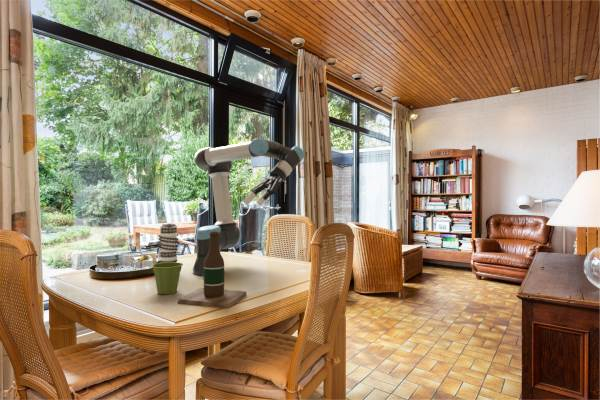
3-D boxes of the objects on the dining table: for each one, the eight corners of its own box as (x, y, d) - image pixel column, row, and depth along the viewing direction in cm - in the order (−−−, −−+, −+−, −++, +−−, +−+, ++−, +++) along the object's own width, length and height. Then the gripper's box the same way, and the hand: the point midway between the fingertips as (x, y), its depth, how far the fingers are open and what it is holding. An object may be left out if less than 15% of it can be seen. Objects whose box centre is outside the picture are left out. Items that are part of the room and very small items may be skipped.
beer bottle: (221, 298, 125) (222, 233, 125) (200, 297, 125) (201, 232, 125) (226, 292, 133) (226, 230, 133) (206, 291, 133) (207, 230, 133)
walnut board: (177, 303, 124) (177, 299, 124) (200, 291, 139) (200, 287, 139) (228, 308, 119) (228, 303, 119) (246, 295, 134) (246, 291, 134)
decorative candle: (157, 272, 171) (158, 223, 171) (177, 271, 175) (177, 222, 175) (158, 276, 163) (159, 224, 162) (179, 275, 167) (179, 224, 166)
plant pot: (189, 291, 139) (189, 263, 139) (164, 298, 129) (164, 268, 129) (169, 287, 145) (170, 260, 145) (144, 293, 135) (145, 265, 135)
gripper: (299, 176, 152) (270, 210, 144) (272, 178, 173) (245, 208, 165) (289, 164, 149) (258, 198, 141) (263, 167, 170) (234, 197, 162)
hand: (251, 203), depth 153 cm, fingers open, 13 cm apart
